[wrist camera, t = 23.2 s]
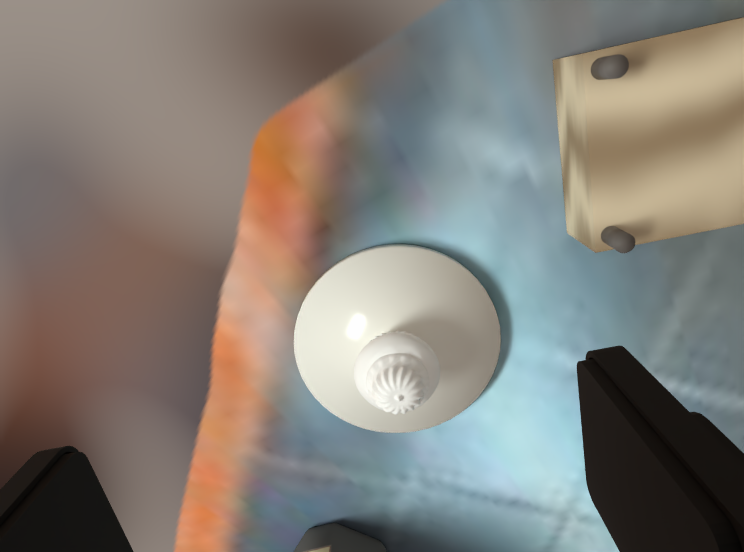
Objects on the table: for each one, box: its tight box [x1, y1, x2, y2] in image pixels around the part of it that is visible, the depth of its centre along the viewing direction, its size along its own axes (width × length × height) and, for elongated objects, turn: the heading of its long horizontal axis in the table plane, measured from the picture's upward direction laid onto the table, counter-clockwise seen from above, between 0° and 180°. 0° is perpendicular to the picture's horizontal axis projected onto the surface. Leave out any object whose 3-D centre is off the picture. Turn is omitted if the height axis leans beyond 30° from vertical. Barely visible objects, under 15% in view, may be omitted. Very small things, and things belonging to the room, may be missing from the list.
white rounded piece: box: [354, 331, 440, 415], centre depth 36 cm, size 6×6×7 cm
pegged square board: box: [553, 17, 744, 253], centre depth 31 cm, size 12×12×7 cm
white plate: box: [294, 244, 501, 433], centre depth 39 cm, size 16×16×1 cm
